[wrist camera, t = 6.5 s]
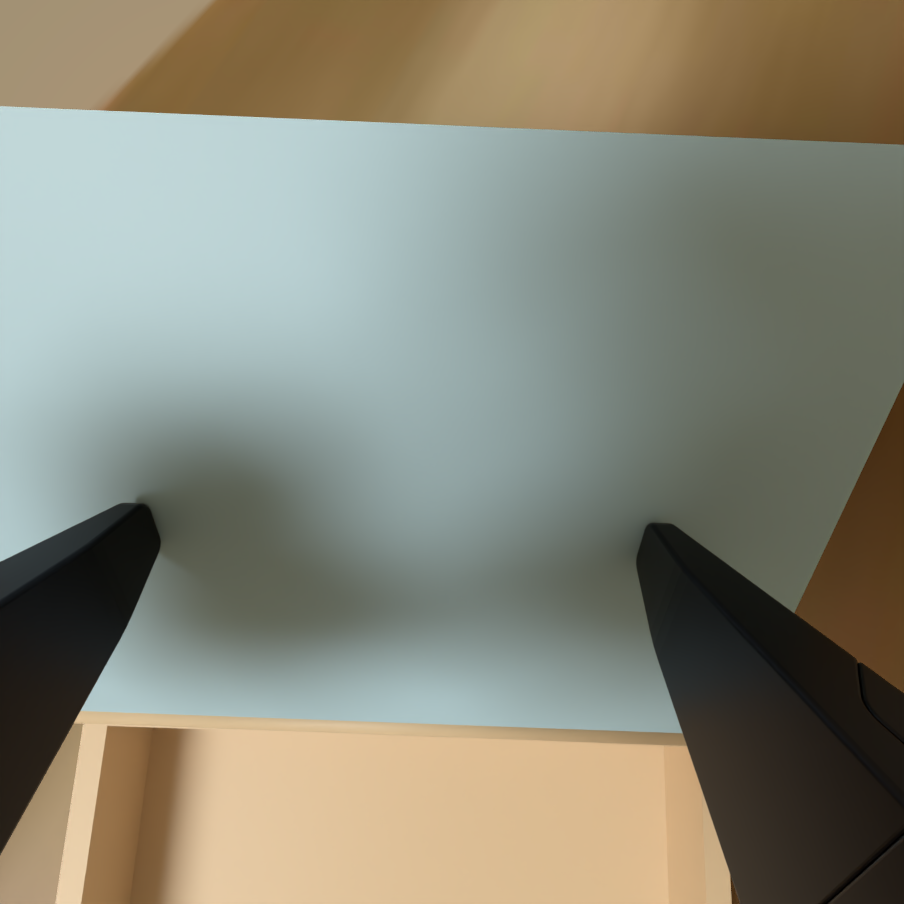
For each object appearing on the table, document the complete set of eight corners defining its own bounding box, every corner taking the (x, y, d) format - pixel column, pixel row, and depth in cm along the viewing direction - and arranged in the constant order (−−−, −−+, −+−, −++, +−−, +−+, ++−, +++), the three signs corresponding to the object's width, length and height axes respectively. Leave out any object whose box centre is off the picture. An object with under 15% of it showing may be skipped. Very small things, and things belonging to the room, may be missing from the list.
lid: (1022, 149, 6) (978, 152, 7) (-243, 94, 6) (-187, 102, 7) (731, 752, 12) (720, 728, 13) (70, 729, 12) (87, 705, 12)
